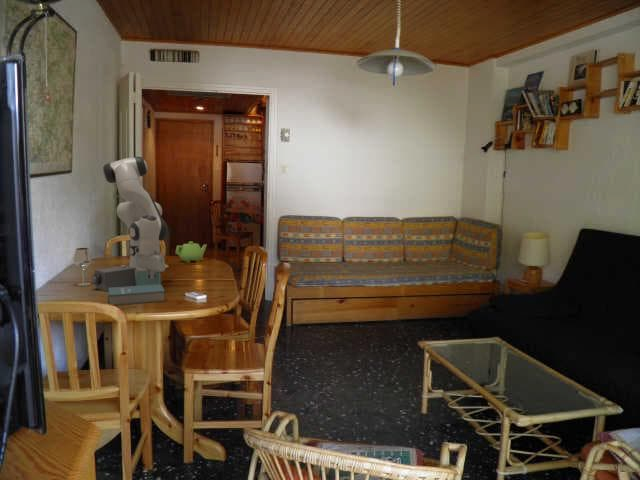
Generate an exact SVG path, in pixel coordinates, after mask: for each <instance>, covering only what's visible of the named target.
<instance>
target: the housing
mask: <svg viewBox="0 0 640 480" xmlns="http://www.w3.org/2000/svg"><path fill="white" fill-rule="evenodd" d="M135 270H136V268H134V267H130V266H129V265H125V264H123V265H119V266H113V267H106V268H98V269H94V273H93V274H92V281H93V285H94V286H95V289H96V290H101V291H102V292H103V291H104V292H108V288H111V287H126V286H136V285H135Z"/></svg>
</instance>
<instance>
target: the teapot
mask: <svg viewBox="0 0 640 480" xmlns="http://www.w3.org/2000/svg"><path fill="white" fill-rule="evenodd" d="M207 246H208V244H206V243H205V244H203V245H202V246H200V244H199V243H194V241H188V243H183V244H182V245H176V249H175V252H174V253H175V254H176V255H178V257H179V258H180V259H181V260H183V262H185V263H186V264H190V263H191V261H195V263H200V260H202V259H203V257H204V253H205V251H206V248H207Z"/></svg>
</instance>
